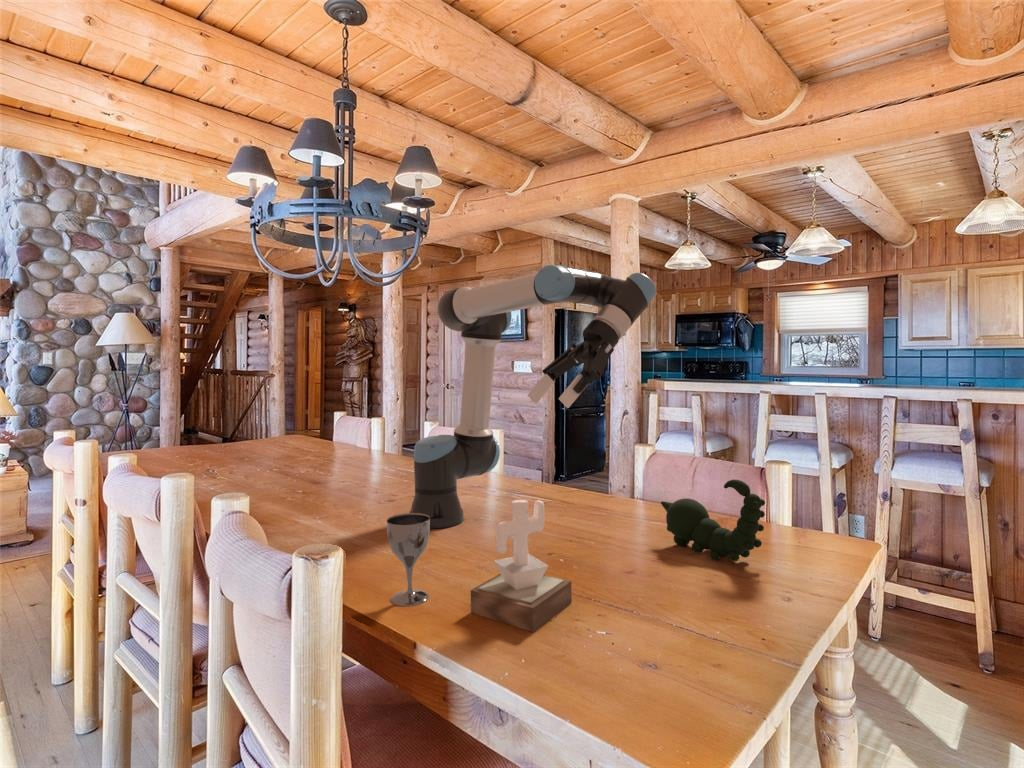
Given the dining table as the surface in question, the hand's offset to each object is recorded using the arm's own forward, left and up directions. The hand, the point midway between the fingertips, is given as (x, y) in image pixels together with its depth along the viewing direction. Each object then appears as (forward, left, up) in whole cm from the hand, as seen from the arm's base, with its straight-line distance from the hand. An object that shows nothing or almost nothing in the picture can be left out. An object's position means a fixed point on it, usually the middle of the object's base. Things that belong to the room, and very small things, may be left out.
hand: (546, 401), depth 114 cm
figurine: (+5, -18, -32) cm, 37 cm away
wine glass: (-15, -26, -36) cm, 47 cm away
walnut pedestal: (+5, -18, -36) cm, 40 cm away
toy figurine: (+25, +28, -36) cm, 52 cm away
